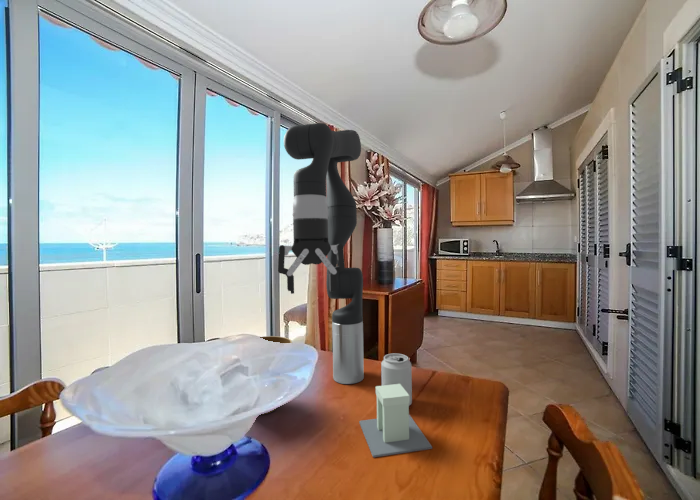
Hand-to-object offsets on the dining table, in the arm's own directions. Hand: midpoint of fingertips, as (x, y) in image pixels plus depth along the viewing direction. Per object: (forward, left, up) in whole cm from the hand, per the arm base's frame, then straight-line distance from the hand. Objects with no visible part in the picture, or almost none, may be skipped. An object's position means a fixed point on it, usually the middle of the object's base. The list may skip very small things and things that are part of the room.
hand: (312, 292), depth 69 cm
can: (-6, +21, -30) cm, 37 cm away
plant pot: (-12, -12, -30) cm, 35 cm away
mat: (+6, +16, -30) cm, 35 cm away
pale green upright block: (+6, +16, -30) cm, 34 cm away
